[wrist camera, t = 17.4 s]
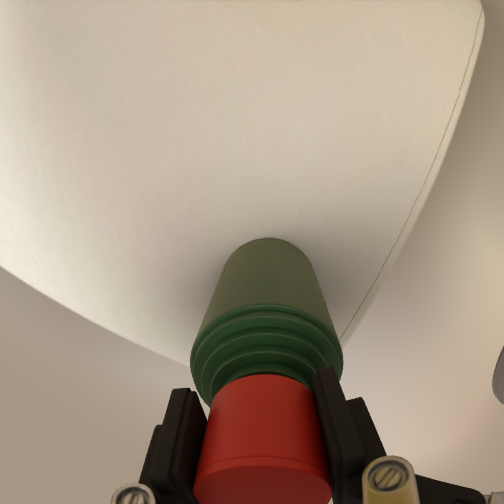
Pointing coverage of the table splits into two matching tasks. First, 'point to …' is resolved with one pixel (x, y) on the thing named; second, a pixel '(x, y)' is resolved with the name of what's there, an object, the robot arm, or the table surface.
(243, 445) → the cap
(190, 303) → the table surface
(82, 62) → the table surface
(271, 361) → the bottle
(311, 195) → the table surface
